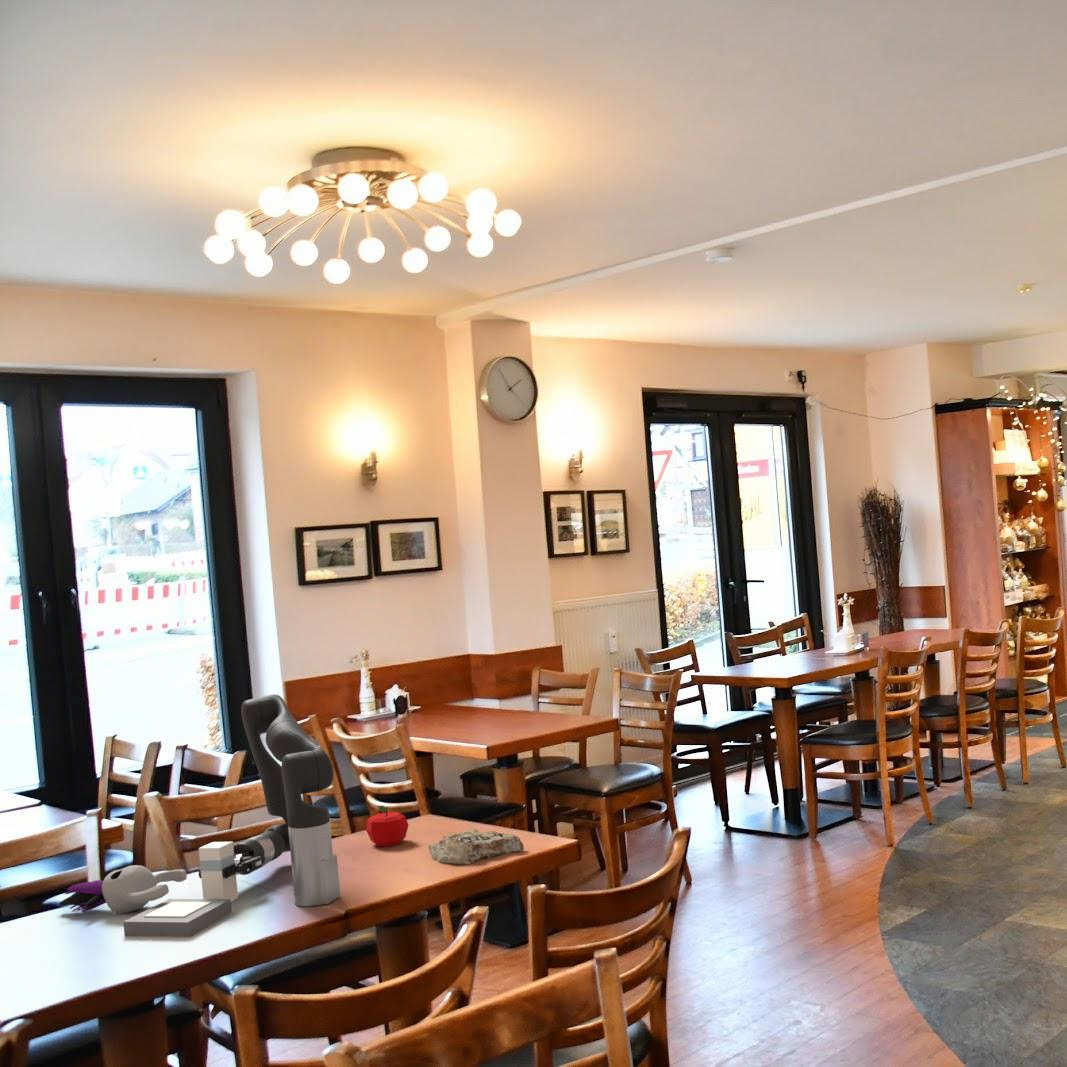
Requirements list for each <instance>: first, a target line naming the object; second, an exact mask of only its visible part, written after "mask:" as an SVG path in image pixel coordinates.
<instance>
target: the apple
mask: <svg viewBox="0 0 1067 1067" xmlns="http://www.w3.org/2000/svg"><path fill="white" fill-rule="evenodd" d="M388 808H389V806H384V805H378V806H377V809H379V811H380V812H381V813H377V814H375V815H372V816H370V817H369V818H368V819H367V820H366V821H367V822H366V826H365V831H366V833H367V835H368V837H369V840H370V841H371V842H372V843H373V844H375V846H377V847H378V848H379V847H380V848H383V847H385V848H386V847H387V848H388V847H393V846H398V845H399V844H400V843H402V842H403V840H405V838H406V837H407V833H408V829H409V823H408V820H407V818H406V815H404V814H401V813H399V812H397V811H388Z"/></svg>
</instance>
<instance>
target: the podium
mask: <svg viewBox="0 0 1067 1067" xmlns="http://www.w3.org/2000/svg"><path fill="white" fill-rule="evenodd" d="M230 914H232V902H231V899H203V898H169V899H166V900H164V901H162V902H161V903H158V904H156V905H155V906H152V907H149V908H148V909H146V910H143V911H142V912H140V913H138V914H136V915H134V916H132V917H129V918H128V919H126V920H124V921H123V922H122V923H123V932H124V933H123V935H124V936H125V937H163V938H164V937H165V938H166V937H167V938H169V937H171V938H178V937H179V938H181V937H184V938H190V937H191V936H193V935H195V934H197V933H198V932H200V931H202V930H204V929H205V928H208V927H209V926H211V925H213V924H214V923H216V922H218V921H220V920H222V919H223V918H225V917H227V916H229V915H230Z"/></svg>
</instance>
